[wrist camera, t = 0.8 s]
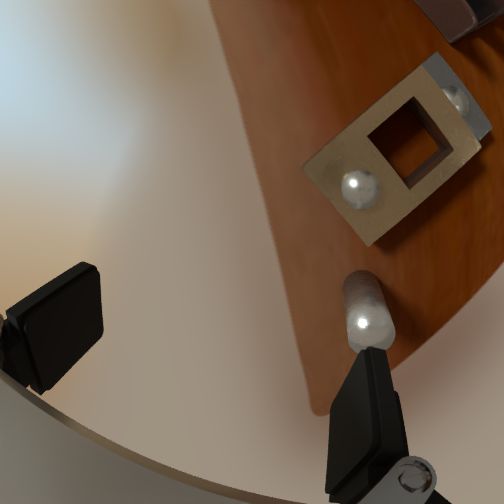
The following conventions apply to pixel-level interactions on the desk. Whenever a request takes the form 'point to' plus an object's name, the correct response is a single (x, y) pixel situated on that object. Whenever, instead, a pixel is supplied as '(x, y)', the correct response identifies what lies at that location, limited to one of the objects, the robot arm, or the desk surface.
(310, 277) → the desk surface
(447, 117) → the square hole plate
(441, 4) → the letter holder
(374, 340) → the steel pin
